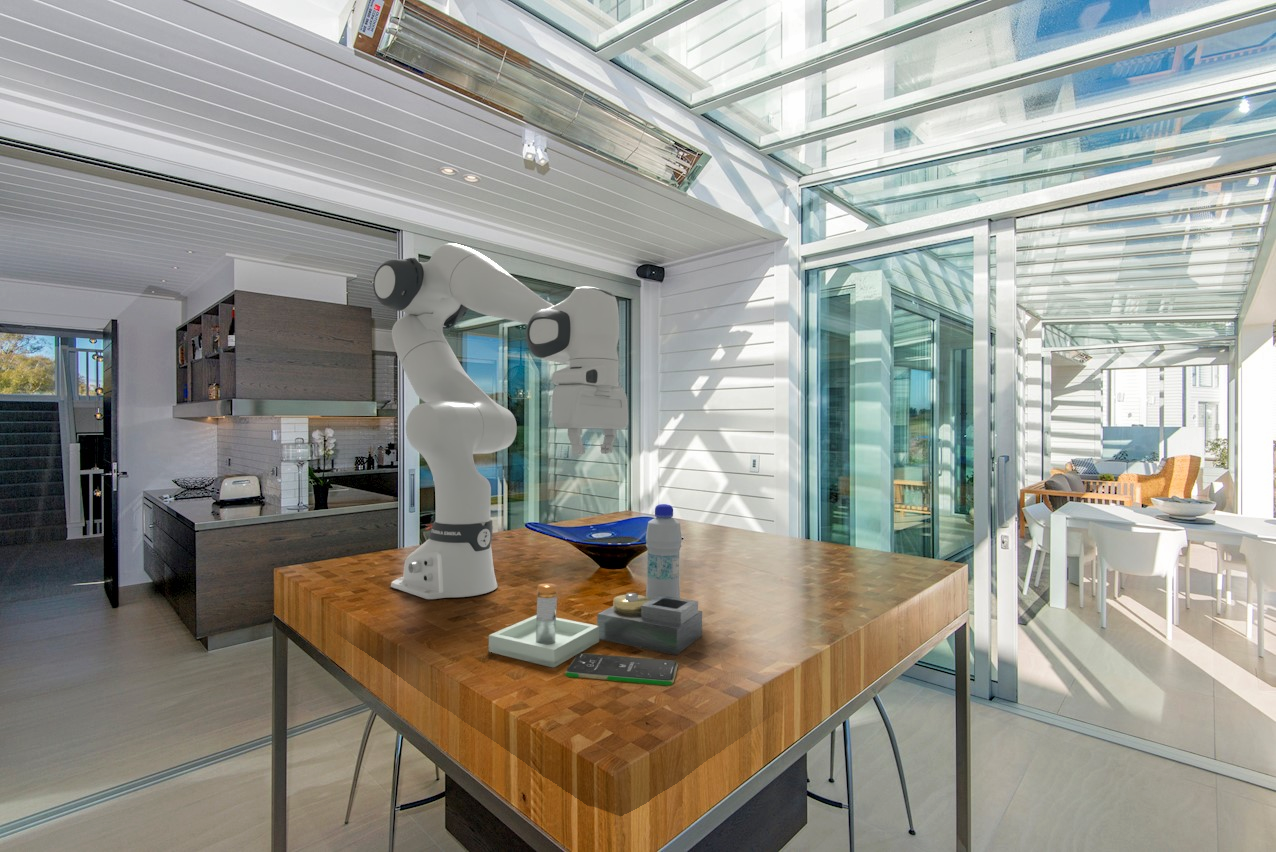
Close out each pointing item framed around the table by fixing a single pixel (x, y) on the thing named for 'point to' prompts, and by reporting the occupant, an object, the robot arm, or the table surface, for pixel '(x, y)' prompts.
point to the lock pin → (546, 614)
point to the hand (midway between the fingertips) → (593, 454)
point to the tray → (524, 647)
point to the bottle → (663, 554)
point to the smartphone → (623, 669)
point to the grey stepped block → (651, 622)
